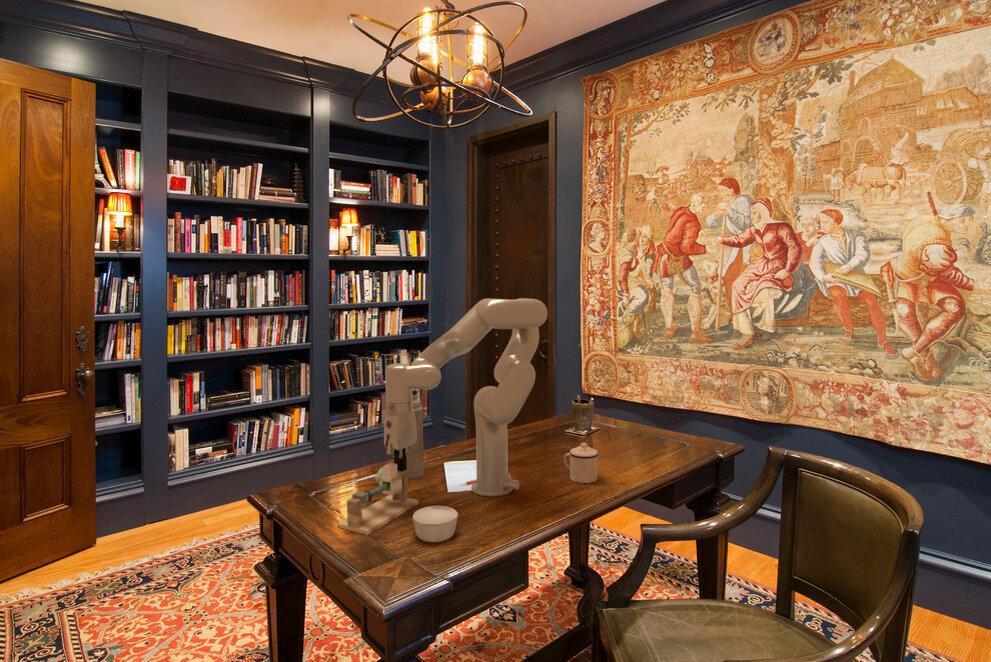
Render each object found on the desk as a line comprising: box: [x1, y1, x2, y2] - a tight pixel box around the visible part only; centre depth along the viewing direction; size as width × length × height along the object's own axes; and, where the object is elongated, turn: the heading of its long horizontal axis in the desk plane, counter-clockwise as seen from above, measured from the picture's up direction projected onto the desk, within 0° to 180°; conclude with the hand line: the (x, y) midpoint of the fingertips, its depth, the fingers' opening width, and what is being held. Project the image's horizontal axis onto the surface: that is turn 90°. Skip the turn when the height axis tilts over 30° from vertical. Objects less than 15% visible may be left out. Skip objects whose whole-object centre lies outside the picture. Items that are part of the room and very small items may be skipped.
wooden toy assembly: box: [336, 473, 419, 536], centre depth 149 cm, size 22×10×9 cm, turn 153°
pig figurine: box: [374, 466, 399, 486], centre depth 168 cm, size 8×4×7 cm, turn 137°
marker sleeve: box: [379, 462, 402, 495], centre depth 153 cm, size 4×5×8 cm
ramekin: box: [412, 505, 459, 543], centre depth 137 cm, size 11×11×5 cm
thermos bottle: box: [398, 389, 425, 480], centre depth 179 cm, size 8×8×28 cm
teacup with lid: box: [563, 442, 599, 484], centre depth 176 cm, size 12×9×12 cm
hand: (400, 470), depth 157 cm, fingers closed
